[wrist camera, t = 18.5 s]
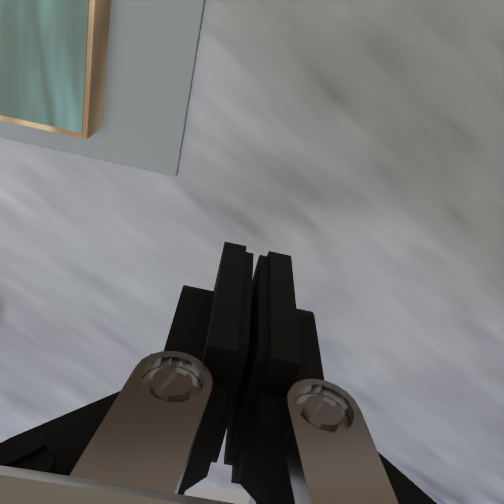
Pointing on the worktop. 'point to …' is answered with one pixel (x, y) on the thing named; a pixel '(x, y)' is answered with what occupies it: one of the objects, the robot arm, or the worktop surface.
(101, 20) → the block
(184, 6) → the mat
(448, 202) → the worktop surface
